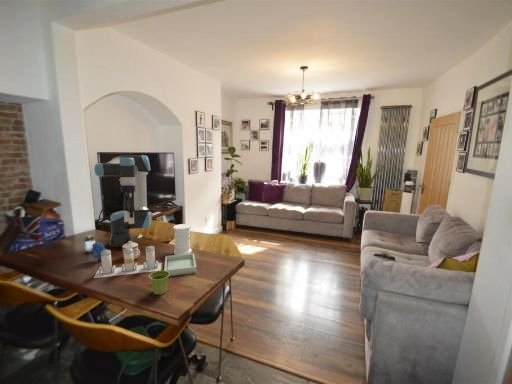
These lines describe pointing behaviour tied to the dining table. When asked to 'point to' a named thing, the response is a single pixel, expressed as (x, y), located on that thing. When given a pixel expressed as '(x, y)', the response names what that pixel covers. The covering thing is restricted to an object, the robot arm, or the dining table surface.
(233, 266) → the dining table surface
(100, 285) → the dining table surface
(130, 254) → the cylinder
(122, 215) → the robot arm
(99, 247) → the grapes
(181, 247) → the decorative container
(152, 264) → the block
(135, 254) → the teacup with lid
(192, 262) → the tray
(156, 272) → the plant pot
